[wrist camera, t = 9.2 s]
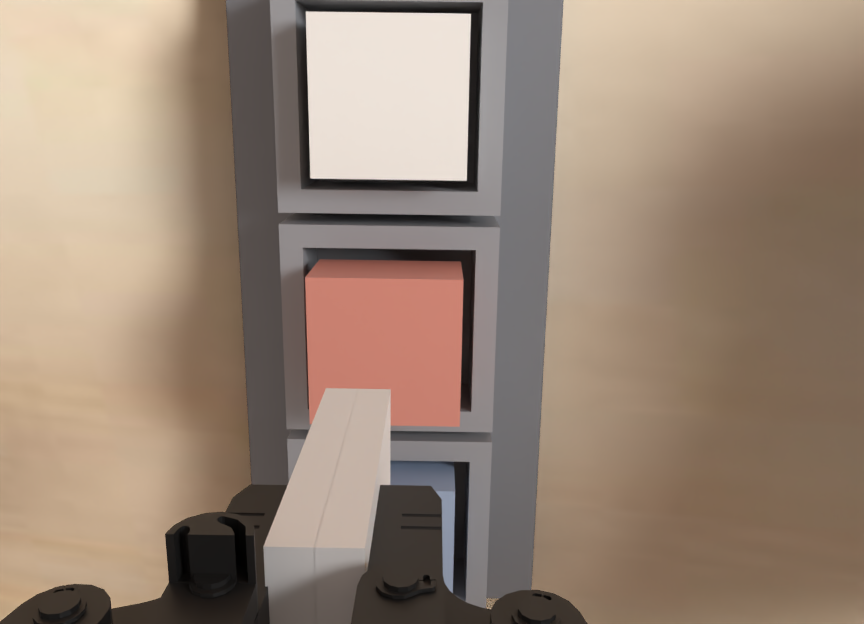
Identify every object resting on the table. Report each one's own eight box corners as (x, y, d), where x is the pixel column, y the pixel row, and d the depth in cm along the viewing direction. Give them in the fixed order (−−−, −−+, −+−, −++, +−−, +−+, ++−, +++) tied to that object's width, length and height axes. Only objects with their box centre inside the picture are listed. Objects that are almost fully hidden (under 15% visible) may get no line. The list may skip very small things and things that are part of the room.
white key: (320, 22, 26) (305, 11, 23) (467, 24, 26) (470, 13, 23) (323, 171, 27) (310, 178, 24) (463, 173, 27) (466, 180, 24)
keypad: (234, -43, 28) (196, -71, 24) (559, -39, 28) (581, -66, 24) (264, 573, 35) (240, 640, 30) (527, 578, 35) (539, 645, 30)
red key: (319, 259, 27) (305, 277, 24) (460, 261, 27) (463, 279, 24) (322, 391, 28) (309, 424, 25) (457, 393, 28) (459, 426, 25)
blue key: (327, 452, 30) (315, 489, 27) (453, 454, 30) (454, 491, 27) (330, 563, 31) (319, 610, 28) (451, 565, 31) (452, 612, 28)
